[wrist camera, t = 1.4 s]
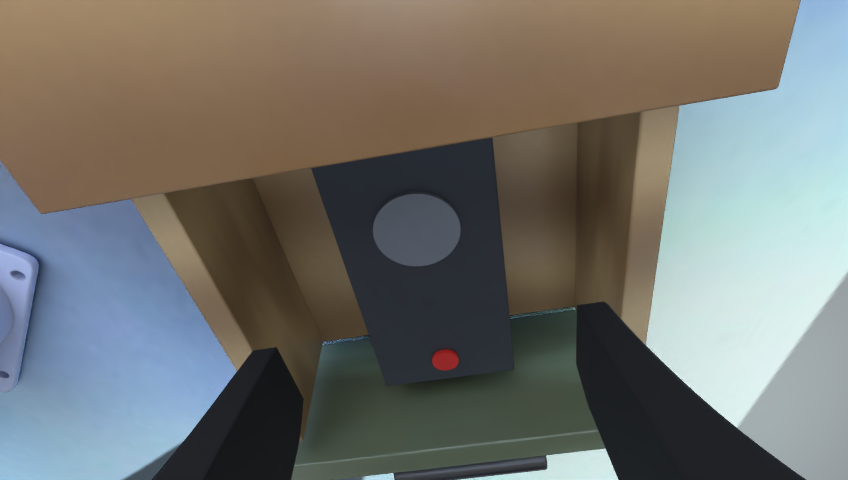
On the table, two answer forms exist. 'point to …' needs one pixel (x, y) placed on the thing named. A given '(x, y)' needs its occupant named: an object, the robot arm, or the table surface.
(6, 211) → the table surface
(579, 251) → the drawer
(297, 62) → the cabinet
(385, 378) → the remote
